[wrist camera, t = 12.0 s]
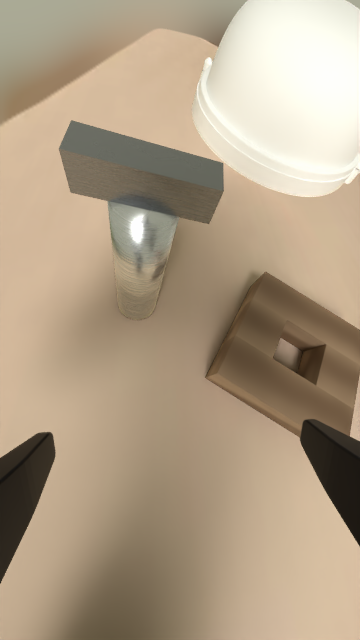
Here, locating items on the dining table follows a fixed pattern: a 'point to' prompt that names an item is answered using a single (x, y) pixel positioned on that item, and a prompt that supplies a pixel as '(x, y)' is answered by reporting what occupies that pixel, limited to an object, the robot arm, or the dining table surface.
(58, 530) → the dining table surface
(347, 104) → the dome cover
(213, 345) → the dining table surface
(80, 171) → the t key
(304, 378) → the socket block
